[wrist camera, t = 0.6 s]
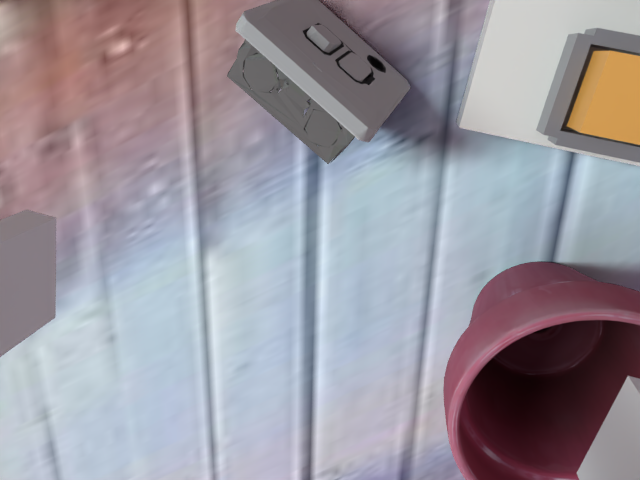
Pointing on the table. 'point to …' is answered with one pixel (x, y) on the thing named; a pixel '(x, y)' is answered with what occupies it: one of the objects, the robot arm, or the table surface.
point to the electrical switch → (315, 74)
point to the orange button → (609, 98)
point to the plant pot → (538, 372)
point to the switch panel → (545, 70)
